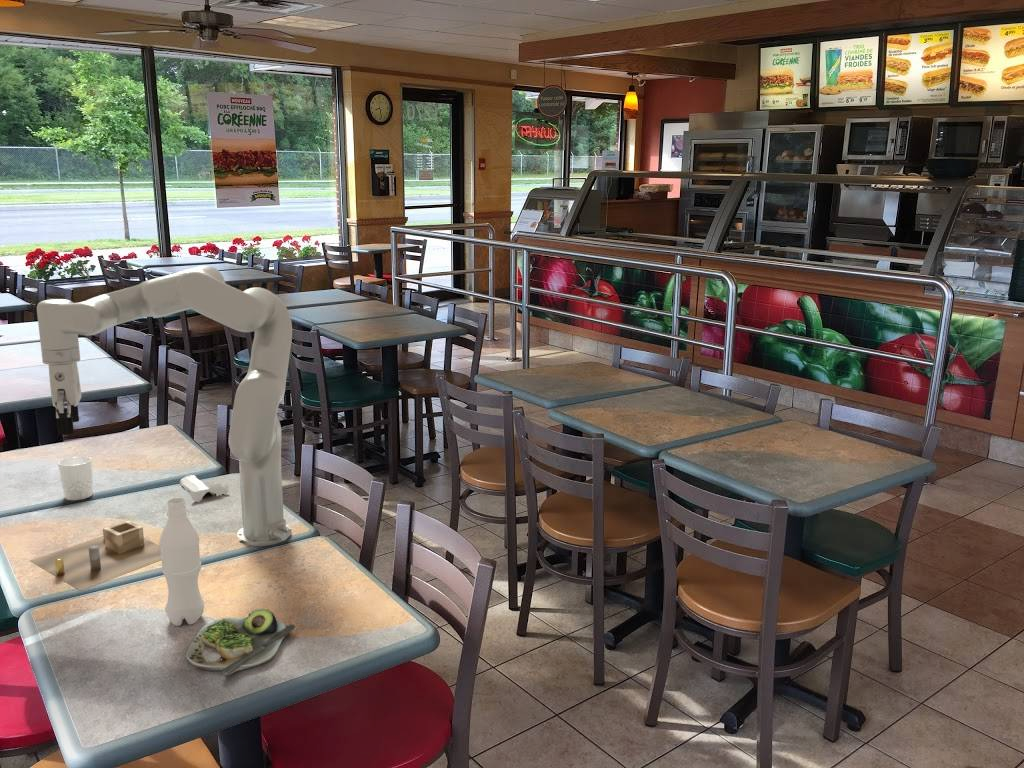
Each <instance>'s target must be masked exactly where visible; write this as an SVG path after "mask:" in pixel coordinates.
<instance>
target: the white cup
mask: <svg viewBox="0 0 1024 768" xmlns="http://www.w3.org/2000/svg"><path fill="white" fill-rule="evenodd" d="M57 462H58V463H57V465H58V470H59V475H60V477H59V478H60V482H61V487H62V490H63V495H64V499H66V500H68V501H80V500H86V499H87V498H90V497H91V496H93V493H94V491H93V489H94V488H93V484H94V483H93V464H92V457H90V456H87V455H77V456H76V455H75V456H69V457H65V458H63V459H60V460H58V461H57Z"/></svg>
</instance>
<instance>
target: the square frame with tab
mask: <svg viewBox="0 0 1024 768" xmlns="http://www.w3.org/2000/svg"><path fill="white" fill-rule="evenodd" d="M102 536H104V539H105V546H106V547H107V548H109V549H111V550H113V551H115V552H117V553H119V554H121V553H123V552H126V551H129V550H132V549H135V548H137V547H140V546H143V545H144V538H145V537H144V529H143V526H142V525H139V524H137V523H135V522H133V521H131V520H126V521H123V522H120V523H117V524H113V525H110V526H106V527H104V528H102Z"/></svg>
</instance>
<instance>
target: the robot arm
mask: <svg viewBox="0 0 1024 768" xmlns="http://www.w3.org/2000/svg"><path fill="white" fill-rule="evenodd" d="M188 310H193V311H194V312H196V313H198V314H200V315H203V316H204V317H206V318H207V319H208V318H209V319H211V320H213V321H215V322H217V323H220V324H221V325H224V326H226V327H227V328H231V329H232V330H235V331H238V332H242V333H252V332H254V335H253V336H254V337H253V340H252V346H251V353H250V354H251V355H250V359H249V366H248V369H247V372H246V373H247V374H246V375H245V376H244V378H243V379H241V382H240V383H239V384H238V386H237V388H236V392H235V395H234V401H233V407H232V413H231V414H232V415H231V419H230V425H229V426H230V427H229V431H228V432H229V433H228V446H229V449H230V451H231V453H232V455H233V456H234V457H235V458H237V459H238V460H239V461H238V462H239V463H238V465H239V467H238V468H239V484H240V501H241V503H240V504H241V516H242V519H241V520H242V527H241V528H239V529H238V531H237V533H236V536H237V538H239V541H238V542H239V543H241V544H242V545H246V546H249V547H266V546H273V545H276V544H280V543H282V542H284V541H286V540H287V539H288V538H289V537H291V534H292V528H291V527H290V525H288V524H287V520H286V519H284V518H285V517H284V497H283V495H284V494H283V478H282V476H283V475H282V473H283V472H282V426H281V422H280V419H279V418H278V411H279V406H280V403H281V401H283V398H284V396H285V392H286V384H287V378H288V377H287V376H288V369H289V363H290V353H291V347H292V342H293V341H292V340H293V324H292V318H291V314H290V312H289V310H288V308H287V306H286V304H285V303H284V302H283V301H282V299H281V298H280V297H279V296H277V295H276V294H275V293H274V292H272V291H270V290H269V289H267V288H263V287H258V286H257V287H256V286H255V287H250V288H246V289H245V290H243V291H242V290H241V289H239V288H237V287H234V286H231V285H230V284H227V283H226V280H225V278H224V275H223V274H222V273H221V271H220V270H218V268H216V267H214V266H211V265H200V266H195V267H192V268H188V269H185V270H181V271H177V272H174V273H173V272H172V273H170V274H167V275H162V276H159V277H156V278H152V279H148V280H145V281H142V282H141V283H139V284H136V285H132V286H130V287H129V286H128V287H125V288H123V289H122V288H121V289H119V290H115V291H111V292H108V293H104V294H99V295H97V296H94V297H91V298H88V299H86V300H84V301H80V302H73V301H72V300H70V299H65V298H53V299H52V298H51V299H45V300H42V301H40V302H38V303H37V306H36V315H37V323H38V331H39V342H40V350H41V358H42V359H41V360H42V364H44V365H48V376H49V387H50V394H51V395H50V396H51V402H52V406H53V407H55V422H56V424H55V425H56V432H57V435H58V436H67V435H74V433H75V431H74V430H75V429H74V423H79V421H80V414H79V407H78V406H79V403H80V401H81V399H82V389H81V383H80V376H79V374H80V373H79V368H78V362H80V361H81V352H80V344H79V342H80V341H79V335H80V336H94V335H97V334H100V333H102V332H104V331H106V330H108V329H110V328H112V327H115V326H117V325H121V324H125V323H128V322H132V321H134V320H135V321H136V320H139V319H144V318H148V317H149V318H150V317H151V318H157V319H159V318H163V317H167V316H170V315H174V314H177V313H181V312H184V311H188Z"/></svg>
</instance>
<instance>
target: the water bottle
mask: <svg viewBox="0 0 1024 768" xmlns="http://www.w3.org/2000/svg"><path fill="white" fill-rule="evenodd" d="M185 503H186V502H185V499H184V498H183V497H174V498H170V499H168V500H167V512H166V515H168V518H167V521H166V524H165V525H164V527H163V529H162V532H161V534H160V538H159V541H158V543H159V544H158V545H159V546H160V550H161V560H160V561H161V569H160V571H161V572H162V574H163V575H164V579H165V580H166V584H167V589H168V590H167V591H168V592H167V596H168V597H167V601H166V604H165V607H164V612H165V614H166V616H167V618H168V620H169V622H170V623H171V624H172V625H174V626H176V627H178V626H181V625H182V623H183V621H184V619H185V621H186V623H187V624H188V625H193V624H195V623H196V622H197V621H199V618H201V616H202V615H203V614H204V610H205V600H204V598H203V597H202V595H201V594H202V593H201V591H200V588H199V581H198V579H199V575H200V572H201V569H202V562H201V561H202V560H201V555H200V554H201V553H200V537H199V536H200V535H199V533H198V531H197V530H196V529H197V528H196V527H194V525H193V523H191V521H190V519H189V518H188V516H187V512H188V509H187V507H186V506H185V505H186V504H185Z"/></svg>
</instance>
